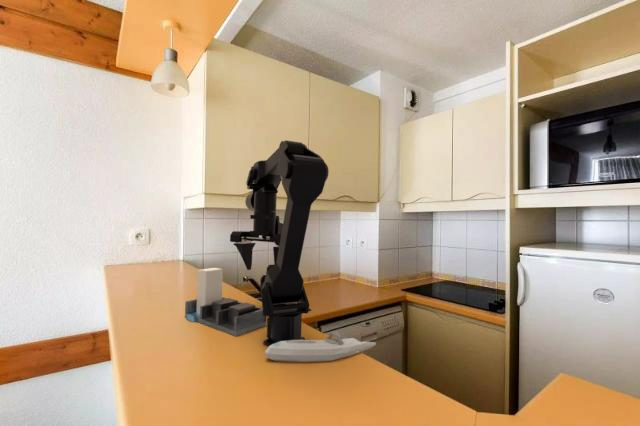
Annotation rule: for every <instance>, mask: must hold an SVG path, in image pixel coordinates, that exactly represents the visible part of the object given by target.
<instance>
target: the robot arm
mask: <svg viewBox="0 0 640 426" xmlns="http://www.w3.org/2000/svg"><path fill="white" fill-rule="evenodd" d="M328 177H329V167H328V164H327V163H326V162H325V160H324V159H323V157H322V156H320V155H319V154H317V153H316V152H314V150H311V149H309V148H308V147H307V145H306V144H304V143H303V142H300V141H295V140H294V141H292V140H286V139H285V140H284V141H283V140H282V141H281V142H280V143H279V146H278V148H277V149H276V150H274V152H273V153H272V154H271V155H270V156H269V157H268V158H267V159H266V160H258V161H256V162H254V164H253V166H252V165H251V167H250V169H249V172H248V174H247V179H246V182H245V184H246V189H247V190H252V191H251V192H250V193H249V194H248V195H246V198H245V199H244V200H245V201H244V202H245V206H246V208H247V209H248V210H250V211H251V212H253V214H250V216H249V217H250V220H253V222H252V223H253V226H252V227H253V229H252V230H249V231H247V230H238V231H236V230H233V231H232V232H231V233H230V235H229V242H231V243H233V246H235V247H236V249H237V251H238V253H239V254H240V257H241V258H242V261H243V263H244V265H245V267H246V270H247V271H250V270H252V265H253V249H254V247H255V245H256V244H257V243H256V242H263V243H274V245H275V246H273V247H272V249H273V250H272V251H273V263H274V264H268V266H267V268H266V273H265V278H264V282H263V283H262V285H261V289H260V296H261V297H260V298H261V304H262V307H261V308H263V316H266V317H268V318H266V339H264V340H263V345H268V346H270V345H272V344H275V343H277V342H280V341H287V340H306V337H305V336H302V321H303V320H302V318H303V316H302V314H305V315H306V314H308V313H309V309H310V302H309V300H308V297H307V292H306V289H305V285H304V278H303V277H302V274H301V272H300V263H301V257H302V253H303V249H304V248H303V247H304V243H305V238H306V234H307V229H308V222H309V217H310V214H311V209H312V208H311V207H312V206H313V205H312V204H313V203H315V201H316V200H317V199H318V198H319V197H320V195H322V193H323V192H324V189H325V185H326V181H327V180H328ZM280 185H282V187H283V190H284V193H285V195H286V198H287V199H286V204H285V211H284V215H283V222H281V221H280V216H279V215H277V194H278V191H279V186H280ZM260 236H261V237H260Z"/></svg>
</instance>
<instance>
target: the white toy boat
mask: <svg viewBox="0 0 640 426" xmlns="http://www.w3.org/2000/svg"><path fill="white" fill-rule="evenodd" d="M333 336H336V338H334V337H333ZM332 337H333V338H332ZM375 346H377V343H376V342H375V341H360V340H359V339H357V338H353V337H352V338H351V337H349V338H348V337H347V338H342V337H341V335H340V333H339V332H337V331H333V332H330V333H329V334H328V337H327V338H326V339H305V340H287V341H280V342H277V343H275V344H272V345H268V347H267V348H266V350H265V351H264V354H265V356H266V357H267V358H268V359H269V360H272V361H274V362H293V363H297V362H298V363H318V362H319V363H320V362H333V361H336V360H339V359H343V358H347V357H350V356H351V357H352V356H354V355H356V354H358V353H362V352H366V351H367V350H370V349H371V348H373V347H375ZM357 351H358V352H357Z"/></svg>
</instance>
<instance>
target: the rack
mask: <svg viewBox="0 0 640 426" xmlns="http://www.w3.org/2000/svg"><path fill="white" fill-rule="evenodd" d="M184 307H185V309H184V310H185V311H184V318H186V320H187V321H190V322H191V323H198V324H202V325H205V326H208V327H210V328H212V329H216V330H218V331H221V332H223V333H226V334H228V335H230V336H231V335H232V336H234V337H238V336H241V335H243V334H246V333H250V332H253V331H256V330H258V329H261V328H264V327H267V316H263V308H262V307H260V306H256V305H255V304H252V303H249V302H242V301H239V300H238V299H234V298H231V297H228V298H227V297H223V296H222V300H218V301H214V302H212V304H208V305H203V306H200V314H199V313H196V312H197V298H196V299H191V300H185V306H184Z"/></svg>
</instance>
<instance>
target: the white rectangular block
mask: <svg viewBox="0 0 640 426" xmlns="http://www.w3.org/2000/svg"><path fill="white" fill-rule="evenodd" d="M223 275H224V269H223V268H219V267H209V268H202V269H201V268H200V269H198V270H197V286H196V287H197V288H196V290H197V292H196V299H197V312H196V313H199V314H200V306H203V305H208V304H212V302H214V301H218V300H222V297H223Z"/></svg>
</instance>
